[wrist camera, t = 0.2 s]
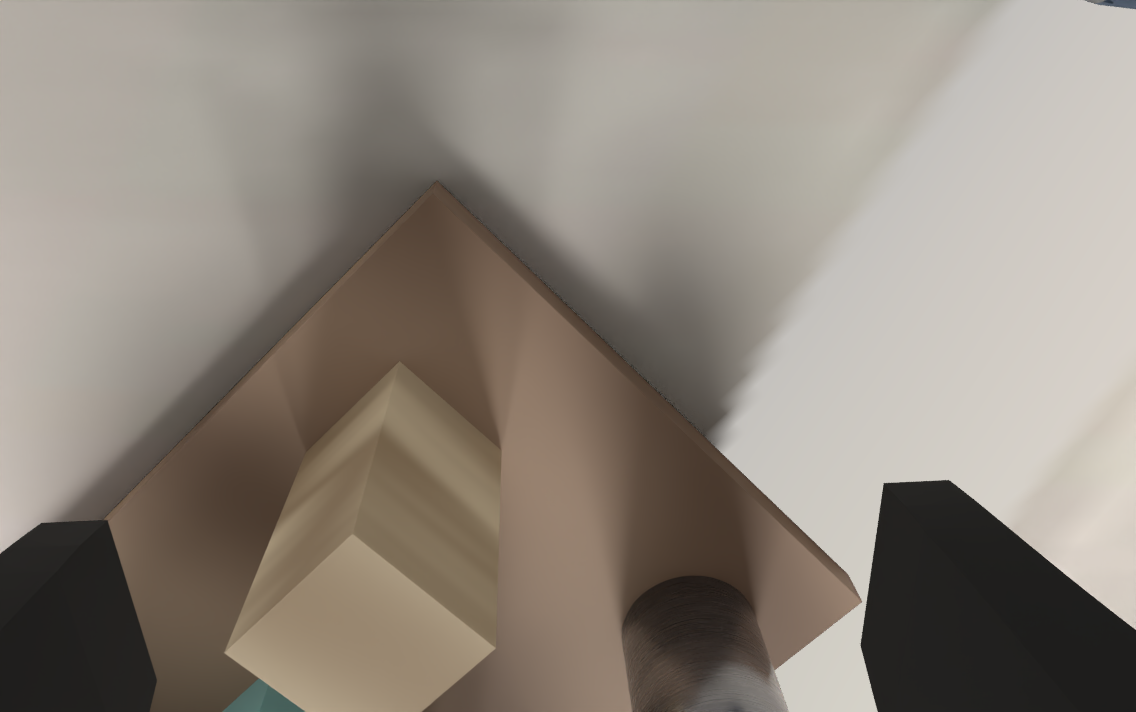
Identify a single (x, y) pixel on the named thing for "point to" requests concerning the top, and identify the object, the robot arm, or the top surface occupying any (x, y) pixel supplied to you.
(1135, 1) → the vaping device
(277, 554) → the maple post
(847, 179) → the top surface
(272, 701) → the teal foam cube
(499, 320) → the board
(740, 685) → the metal post
